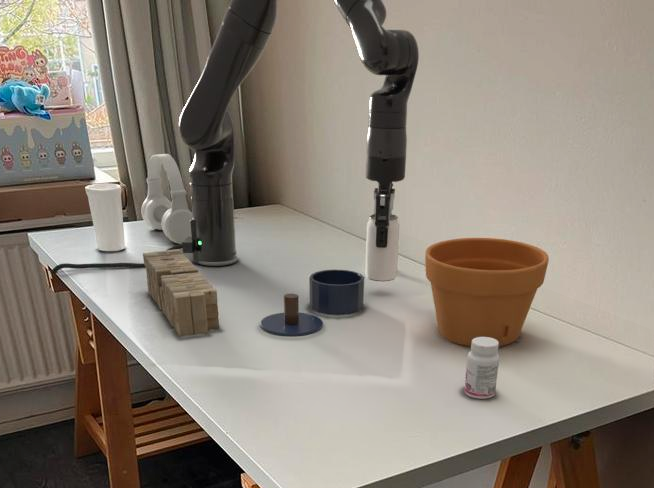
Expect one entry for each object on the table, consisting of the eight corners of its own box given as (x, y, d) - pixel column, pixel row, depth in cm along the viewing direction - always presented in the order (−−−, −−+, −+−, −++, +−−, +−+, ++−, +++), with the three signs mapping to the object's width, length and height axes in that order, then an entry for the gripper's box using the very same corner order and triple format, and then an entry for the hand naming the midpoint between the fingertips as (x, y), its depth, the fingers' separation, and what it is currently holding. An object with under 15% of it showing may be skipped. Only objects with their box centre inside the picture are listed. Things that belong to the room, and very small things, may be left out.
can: (400, 274, 160) (403, 214, 154) (391, 283, 155) (394, 221, 148) (370, 271, 162) (372, 211, 155) (361, 279, 156) (362, 218, 150)
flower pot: (462, 363, 129) (471, 275, 122) (398, 324, 145) (402, 244, 138) (561, 344, 138) (575, 260, 130) (490, 308, 154) (499, 232, 146)
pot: (306, 316, 148) (306, 284, 145) (313, 299, 157) (313, 268, 154) (360, 319, 147) (361, 286, 144) (365, 301, 156) (366, 270, 153)
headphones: (200, 242, 193) (194, 159, 182) (168, 246, 189) (159, 162, 179) (172, 225, 207) (165, 147, 197) (142, 229, 203) (132, 149, 193)
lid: (255, 337, 138) (253, 304, 135) (266, 316, 148) (265, 284, 144) (318, 341, 137) (318, 307, 134) (326, 319, 147) (326, 287, 144)
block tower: (222, 338, 140) (184, 286, 162) (219, 293, 135) (181, 246, 157) (178, 344, 137) (146, 290, 159) (174, 297, 132) (142, 249, 155)
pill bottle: (460, 386, 121) (466, 335, 117) (490, 386, 122) (497, 335, 117) (467, 400, 117) (473, 347, 113) (498, 399, 118) (505, 346, 113)
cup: (136, 248, 187) (128, 186, 180) (110, 255, 181) (102, 191, 174) (112, 243, 191) (104, 181, 183) (86, 250, 185) (77, 187, 177)
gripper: (368, 146, 152) (366, 233, 161) (363, 158, 140) (360, 251, 149) (407, 147, 152) (402, 234, 160) (405, 159, 139) (400, 252, 148)
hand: (382, 242), depth 155 cm, fingers closed on can, 6 cm apart
